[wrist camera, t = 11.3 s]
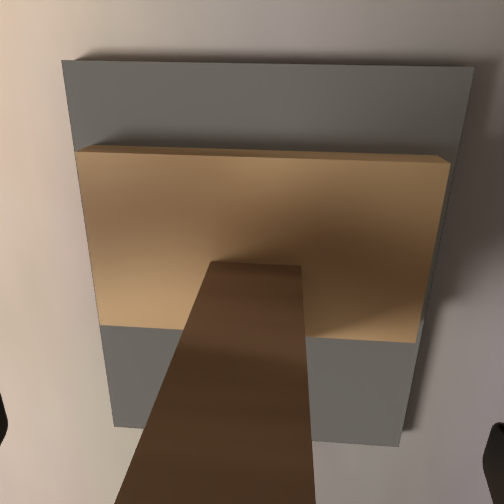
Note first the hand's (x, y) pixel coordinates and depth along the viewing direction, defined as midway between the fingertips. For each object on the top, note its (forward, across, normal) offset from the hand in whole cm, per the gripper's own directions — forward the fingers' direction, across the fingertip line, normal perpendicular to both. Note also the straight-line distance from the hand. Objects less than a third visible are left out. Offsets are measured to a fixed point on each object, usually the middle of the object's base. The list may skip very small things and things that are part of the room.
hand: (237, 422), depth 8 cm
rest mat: (+6, 0, 0) cm, 6 cm away
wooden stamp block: (+5, 0, -1) cm, 6 cm away
